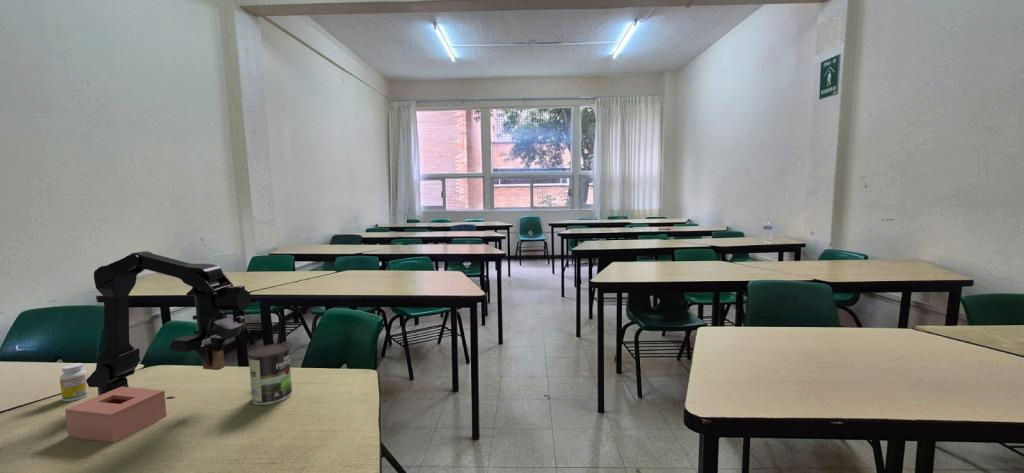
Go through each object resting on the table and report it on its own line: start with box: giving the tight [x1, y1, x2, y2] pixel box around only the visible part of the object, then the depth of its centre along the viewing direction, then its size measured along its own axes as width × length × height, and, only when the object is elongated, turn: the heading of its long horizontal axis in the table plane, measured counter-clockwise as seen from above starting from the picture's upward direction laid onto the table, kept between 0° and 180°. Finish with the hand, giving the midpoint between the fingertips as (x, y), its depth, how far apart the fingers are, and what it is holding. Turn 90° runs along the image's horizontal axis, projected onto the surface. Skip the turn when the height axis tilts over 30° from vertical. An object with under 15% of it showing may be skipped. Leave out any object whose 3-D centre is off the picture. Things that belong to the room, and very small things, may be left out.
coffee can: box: [247, 343, 293, 406], centre depth 116 cm, size 10×10×14 cm
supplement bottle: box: [59, 362, 90, 402], centre depth 117 cm, size 5×5×10 cm
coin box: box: [64, 387, 167, 443], centre depth 102 cm, size 14×12×7 cm
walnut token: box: [201, 349, 225, 371], centre depth 113 cm, size 5×2×5 cm, turn 80°
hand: (213, 364), depth 114 cm, fingers closed on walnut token, 2 cm apart
